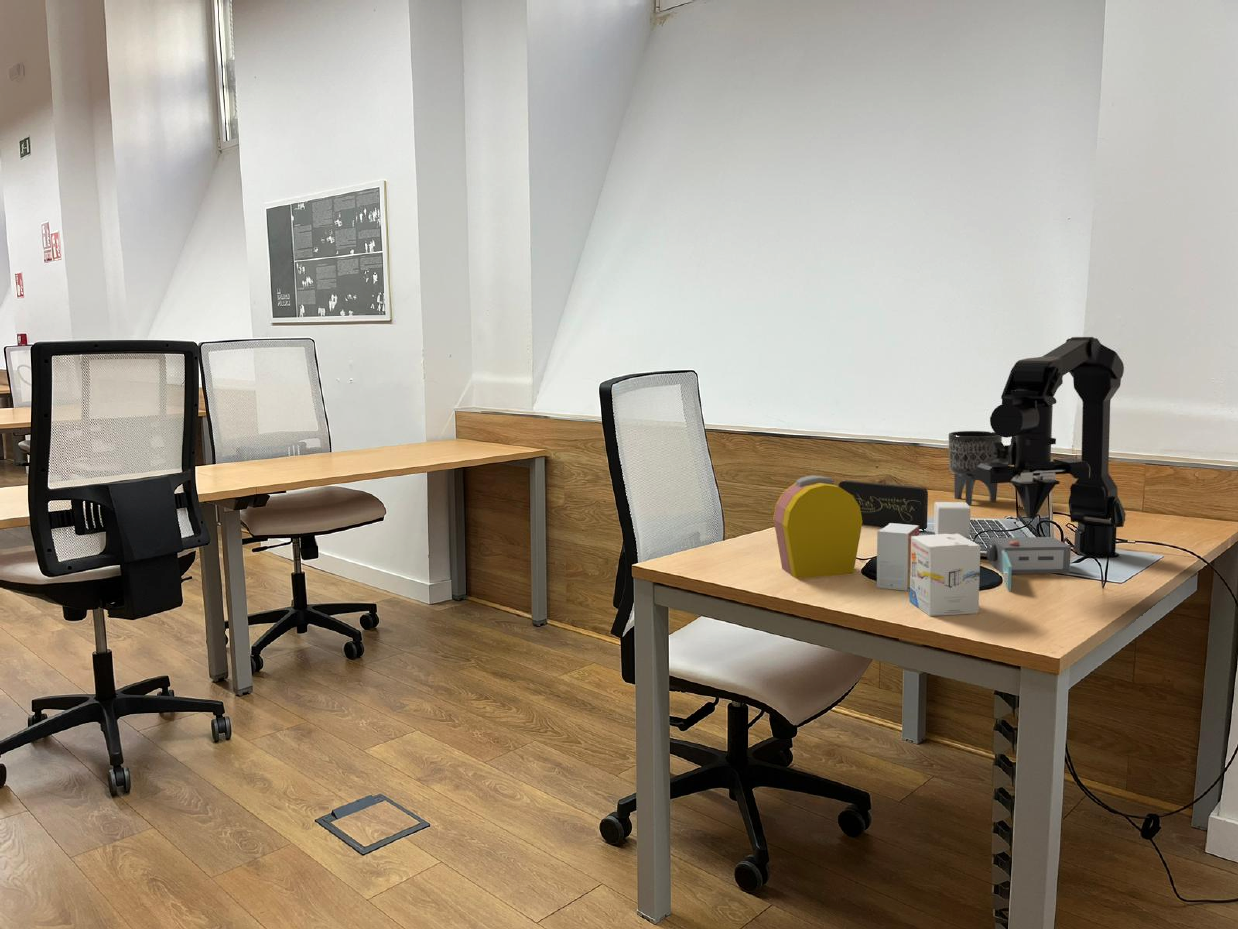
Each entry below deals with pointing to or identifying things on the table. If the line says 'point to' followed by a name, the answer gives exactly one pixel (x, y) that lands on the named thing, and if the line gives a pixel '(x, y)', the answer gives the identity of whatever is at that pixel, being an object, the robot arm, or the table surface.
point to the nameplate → (889, 503)
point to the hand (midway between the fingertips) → (1030, 518)
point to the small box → (895, 556)
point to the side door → (1006, 569)
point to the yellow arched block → (817, 528)
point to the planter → (970, 460)
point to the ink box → (945, 574)
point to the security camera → (952, 518)
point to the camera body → (1030, 554)
